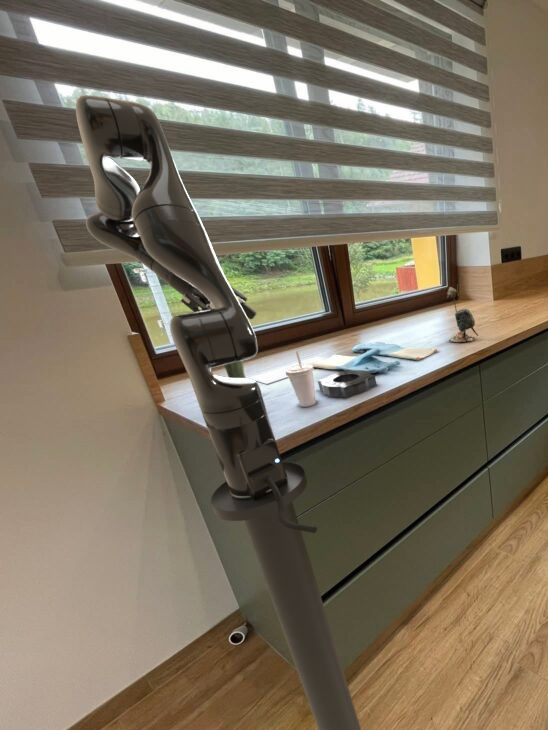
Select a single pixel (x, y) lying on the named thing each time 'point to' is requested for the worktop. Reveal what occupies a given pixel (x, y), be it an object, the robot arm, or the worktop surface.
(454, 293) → the ostrich figurine
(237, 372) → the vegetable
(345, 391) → the board
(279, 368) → the worktop surface
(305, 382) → the smoothie
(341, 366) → the rubber gloves
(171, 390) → the worktop surface
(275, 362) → the worktop surface
